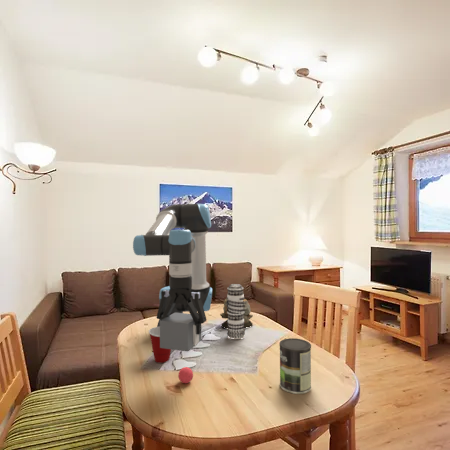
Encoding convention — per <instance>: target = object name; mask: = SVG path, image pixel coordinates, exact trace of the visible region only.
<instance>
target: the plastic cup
mask: <svg viewBox="0 0 450 450" xmlns="http://www.w3.org/2000/svg"><path fill="white" fill-rule="evenodd" d="M148 334H149V337H150V342H151V347H152V353H153V358H154V361H155V362H156V363H160V364H161V363H166V362H169V360H170V358H171V352H172V349H165V348H160V327H157V326H155V327H151V328H149V330H148Z"/></svg>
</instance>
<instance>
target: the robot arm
mask: <svg viewBox="0 0 450 450" xmlns="http://www.w3.org/2000/svg"><path fill="white" fill-rule="evenodd" d="M211 219H212V218H211V213H210V208H209V206H208V205H207V204H205V203H185V204H184V203H181V204H179V203H178V204H171V205H169V206H166V208H163V209H162V210H161V211H159V213H158V214H157V215H156V217H155V221H154V223H153V224H152V225H151V227H150V228H149V230H148V231H147V232H146V233H145V234H139V235H136V236H134V238H133V242H132V249H133V252H134V255H136V256H144V257H147V256H148V257H149V256H154V257H155V256H169V257H168V259H169V263H168V264H169V265H168V268H169V269H168V272H169V273H168V274H169V277H168V279H169V280H168V281H169V283H168V286H164V287H162V288H160V290H159V295H158V300H159V301H158V302H159V304H158V305H159V306H158V310H157V314H156V319H157V320H158V322H157V325H156V327H160V320H162V319H164V318H166V317H168V316H169V315H171V314H173V313H185V312H188V314H191V316H192V318H193V320H194V322H195V324H194V325H193V345H196V344H197V345H198V344H199V343H200V342H199V334H200V333H201V334H202V324H204V323H205V322H207V315H206V312H208V311H210V309H211V305H212V297H213V288H212V287H211V286H210V283H209V282H208V281H207V251H206V249H207V248H206V246H207V245H206V235H207V233H208V232H209V229H211V228H212V221H211ZM197 345H196V346H197Z"/></svg>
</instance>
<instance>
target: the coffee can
mask: <svg viewBox="0 0 450 450" xmlns="http://www.w3.org/2000/svg"><path fill="white" fill-rule="evenodd" d="M278 344H279V386H280V388H281V389H282V390H283V391H285V392H287V393H290V394H293V395H304V394H307V393H309V392H310V391H311V390H312V372H311V371H312V365H311V363H312V354H311V353H312V352H311V349H312V344H311V342H309V341H307V340H305V339H303V338H302V339H301V338H293V337H292V338H291V337H290V338H284V339H282V340H280V341H279V343H278Z"/></svg>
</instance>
